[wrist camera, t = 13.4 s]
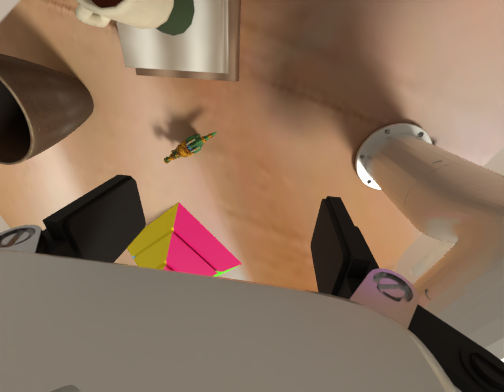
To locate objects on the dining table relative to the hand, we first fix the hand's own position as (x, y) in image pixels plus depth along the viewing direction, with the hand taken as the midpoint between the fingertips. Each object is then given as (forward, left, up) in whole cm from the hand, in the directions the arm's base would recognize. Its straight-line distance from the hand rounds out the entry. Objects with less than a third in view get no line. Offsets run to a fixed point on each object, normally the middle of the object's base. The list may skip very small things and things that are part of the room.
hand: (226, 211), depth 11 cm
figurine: (+13, +6, -32) cm, 36 cm away
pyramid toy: (+20, +38, -33) cm, 54 cm away
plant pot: (+37, 0, -32) cm, 49 cm away
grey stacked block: (+13, -13, -32) cm, 37 cm away
